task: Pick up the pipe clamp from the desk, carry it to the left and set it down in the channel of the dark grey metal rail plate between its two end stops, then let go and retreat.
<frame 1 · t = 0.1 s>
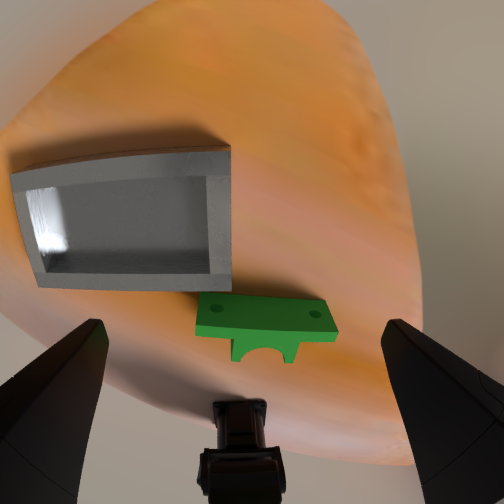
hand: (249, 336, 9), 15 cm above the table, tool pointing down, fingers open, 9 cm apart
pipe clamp: (260, 309, 27), on the table
rail plate: (121, 215, 22), on the table
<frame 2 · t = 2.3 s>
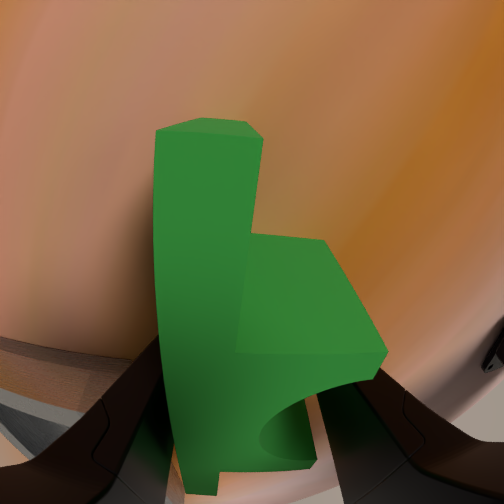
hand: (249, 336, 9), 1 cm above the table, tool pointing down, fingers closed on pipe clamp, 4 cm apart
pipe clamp: (244, 307, 10), on the table, touching gripper
rail plate: (91, 438, 14), on the table
when the fingers open (4 cm above the table, at t = 6.1 s): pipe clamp drops 1 cm, resting on rail plate.
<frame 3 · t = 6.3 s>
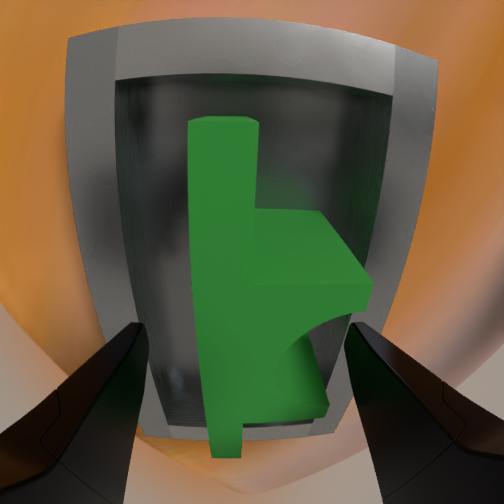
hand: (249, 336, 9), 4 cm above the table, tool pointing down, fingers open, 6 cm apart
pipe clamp: (256, 276, 11), point 1 cm above the table, touching rail plate
rail plate: (242, 273, 12), on the table
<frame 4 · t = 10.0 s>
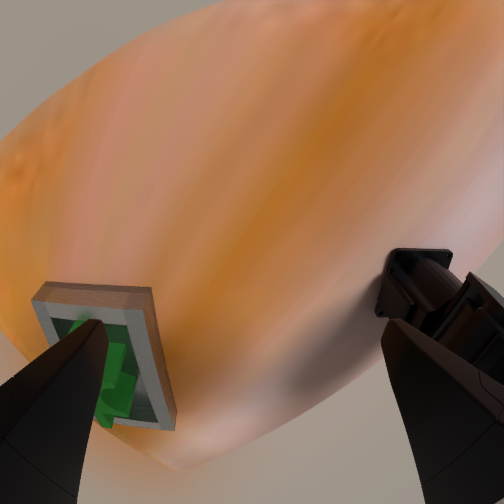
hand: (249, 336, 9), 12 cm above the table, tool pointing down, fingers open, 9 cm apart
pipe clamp: (112, 360, 24), point 1 cm above the table, touching rail plate
rail plate: (115, 358, 25), on the table
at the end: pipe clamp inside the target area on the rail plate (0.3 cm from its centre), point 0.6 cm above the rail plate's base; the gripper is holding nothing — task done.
